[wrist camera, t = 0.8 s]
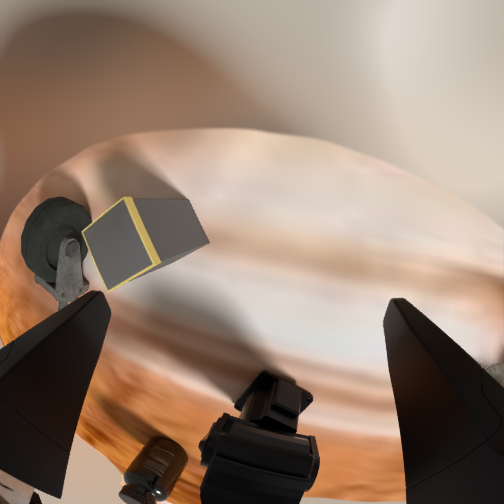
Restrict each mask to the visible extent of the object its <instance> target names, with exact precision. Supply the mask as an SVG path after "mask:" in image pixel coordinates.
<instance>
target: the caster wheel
mask: <svg viewBox="0 0 504 504" xmlns="http://www.w3.org/2000/svg"><path fill="white" fill-rule="evenodd" d="M90 224H91V218H90V216H89V215H88V213H87V212H86V210H85V209H84V207H83V206H81V205H79V204H77V203H75V202H73V201H71V200H69V199H67V198H65V197H55V198H49V199H47V200H46V201H44V202H43V203H41V204H40V205H38V206H37V207H36V208H35V209H34V211H33V212H32V213H31V215H30V216H29V218H28V219H27V221H26V224H25V227H24V230H23V233H22V236H21V253H22V256H23V258H24V261H25V263H26V265H27V267H28V268H29V269H30V270H32V271H33V272H34V273H35V282H36V283H37V284H40V285H41V286H42V287H44V288H45V289H46V290H47V291H48V292H50V293H51V294H52V295H53V296H54V298H55V299H56V300H57V301H59V307H58V311H59V310H60V309H62V308H64V307H65V306H67V303H68V302H73V301H75V300H76V299H77V298H78V295H81V294H84V292H85V291H87V290H88V287H89V283H88V282H87V281H86V280H84V279H83V278H82V268H81V263H82V262H83V260H84V259H85V257H86V255H87V252H88V247H87V244H86V242H85V239H84V237H83V234H82V231H83V230H84V229H85V228H86V227H88V226H89V225H90Z"/></svg>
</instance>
